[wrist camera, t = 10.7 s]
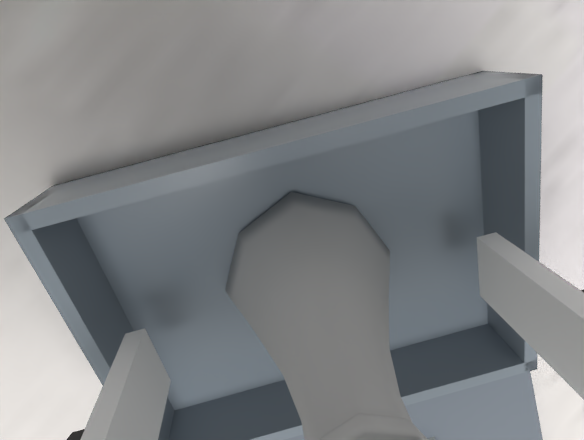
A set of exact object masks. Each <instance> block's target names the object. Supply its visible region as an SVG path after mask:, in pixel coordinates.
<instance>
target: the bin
mask: <svg viewBox="0 0 584 440" xmlns="http://www.w3.org/2000/svg"><path fill="white" fill-rule="evenodd" d="M541 120H542V74H525V73H507V72H489V71H481V72H478V73H474V74H470V75H466V76H463V77H459V78H455V79H451V80H448V81H444V82H440V83H436V84H433V85H429V86H425V87H421V88H418V89H414V90H410V91H406V92H403V93H399V94H395V95H392V96H388V97H384V98H380V99H377V100H373V101H369V102H365V103H362V104H358V105H354V106H350V107H347V108H343V109H339V110H335V111H332V112H328V113H324V114H320V115H317V116H313V117H309V118H306V119H302V120H298V121H294V122H291V123H287V124H283V125H279V126H276V127H272V128H268V129H264V130H261V131H257V132H253V133H249V134H246V135H242V136H238V137H234V138H231V139H227V140H223V141H220V142H216V143H212V144H208V145H205V146H201V147H197V148H193V149H190V150H186V151H182V152H178V153H175V154H171V155H167V156H163V157H160V158H156V159H152V160H148V161H145V162H141V163H137V164H134V165H130V166H126V167H122V168H119V169H115V170H111V171H107V172H104V173H100V174H96V175H92V176H89V177H85V178H81V179H77V180H74V181H70V182H66V183H62V184H59V185H55V186H52V187H50V188H49V189H47V190H46V191H44V192H43V193H41V194H40V195H39V196H37V197H36V198H34V199H33V200H31V201H30V202H28V203H27V204H25V205H24V206H22V207H21V208H19V209H18V210H16V211H15V212H13V213H12V214H10V215H9V216H7V217H6V218H5V221H6V223H7V224H8V226H9V228H10V230H11V231H12V233H13V235H14V236H15V238H16V240H17V241H18V243H19V245H20V246H21V248H22V250H23V252H24V253H25V255H26V257H27V258H28V260H29V262H30V263H31V265H32V267H33V268H34V270H35V272H36V273H37V275H38V277H39V279H40V280H41V282H42V284H43V285H44V287H45V289H46V290H47V292H48V294H49V295H50V297H51V299H52V301H53V302H54V304H55V306H56V307H57V309H58V311H59V312H60V314H61V316H62V317H63V319H64V321H65V322H66V324H67V326H68V328H69V329H70V331H71V333H72V334H73V336H74V338H75V339H76V341H77V343H78V344H79V346H80V348H81V349H82V351H83V353H84V355H85V356H86V358H87V360H88V361H89V363H90V365H91V366H92V368H93V370H94V371H95V373H96V375H97V377H98V378H99V380H100V382H101V383H102V385H104V383H105V380H106V378H107V376H108V373H109V371H110V368H111V366H112V364H113V361H114V359H115V357H116V354H117V352H118V350H119V347H120V345H121V343H122V340H123V338H124V335H125V334H126V333H130V332H133V331H137V330H140V329H144V328H145V330H146V332H147V334H148V336H149V338H150V340H151V342H152V344H153V346H154V348H155V350H156V352H157V354H158V356H159V358H160V360H161V362H162V364H163V366H164V368H165V370H166V372H167V374H168V376H169V378H170V380H171V383H170V387H169V392H168V396H167V401H166V405H165V410H164V414H163V419H162V424H161V428H160V433H159V437H158V440H285V439H289V438H292V437H296V436H299V435H303V434H304V433H303V428H302V422H301V419H300V417H299V414H298V412H297V409H296V406H295V404H294V401H293V399H292V396H291V394H290V391H289V389H288V386H287V384H286V381H285V378H284V376H283V374H282V373H281V371H280V370H279V368H278V367H277V365H276V363H275V362H274V360H273V359H272V357H271V356H270V354H269V353H268V351H267V350H266V348H265V347H264V345H263V343H262V342H261V340H260V339H259V337H258V336H257V334H256V333H255V331H254V330H253V328H252V327H251V326H250V324H249V323H248V322H247V320H246V319H245V317H244V316H243V315H242V313H241V312H240V311H239V309H238V308H237V307H236V305H235V304H234V303H233V301H232V300H231V298H230V297H229V295H228V294H227V292H226V291H225V289H226V284H227V280H228V276H229V272H230V267H231V263H232V259H233V255H234V251H235V246H236V242H237V238H238V234H239V233H240V232H241V231H242V230H243V229H245V228H246V227H247V226H249V225H250V224H251V223H252V222H254V221H255V220H256V219H257V218H259V217H260V216H261V215H263V214H264V213H265V212H266V211H268V210H269V209H270V208H271V207H273V206H274V205H275V204H276V203H278V202H279V201H280V200H282V199H283V198H284V197H285V196H287V195H288V194H289V193H290V192H294V193H298V194H303V195H307V196H312V197H316V198H321V199H326V200H330V201H335V202H339V203H344V204H348V205H353V206H355V207H356V208H357V209H358V210H359V212H360V213H361V214H362V216H363V217H364V218H365V219H366V221H367V222H368V223H369V225H370V226H371V227H372V228H373V230H374V231H375V232H376V234H377V235H378V236H379V237H380V239H381V240H382V241H383V243H384V244H385V245H386V246H387V248H388V249H389V250H390V274H389V346H390V353H391V358H392V362H393V366H394V370H395V375H396V379H397V383H398V388H399V392H400V396H401V399H402V401H403V403H404V405H405V406H407V405H410V404H414V403H417V402H421V401H425V400H428V399H432V398H435V397H439V396H442V395H446V394H450V393H453V392H457V391H460V390H464V389H467V388H471V387H475V386H478V385H482V384H485V383H489V382H492V381H496V380H500V379H503V378H507V377H510V376H514V375H517V374H521V373H525V372H528V371H532V370H535V369H537V352H536V351H535V350H534V349H533V348H532V347H531V346H530V345H529V344H528V343H527V342H526V341H525V340H524V339H523V338H522V337H521V336H520V335H519V334H518V333H517V332H516V331H515V330H514V329H513V328H512V327H511V326H510V325H509V324H508V323H507V322H506V321H505V320H504V319H503V318H502V317H501V316H500V315H499V314H498V313H497V312H496V311H495V310H494V309H493V308H492V307H491V306H490V305H489V304H488V303H487V302H486V301H485V300H484V299H483V298H482V297H481V296H480V289H479V271H478V252H477V237H480V236H484V235H487V234H491V233H495V232H496V233H498V234H499V235H501V236H502V237H504V238H505V239H506V240H508V241H509V242H511V243H512V244H514V245H515V246H517V247H518V248H520V249H521V250H522V251H524V252H525V253H527V254H528V255H530V256H531V257H533V258H534V259H536V260H537V261H538V262H539V230H540V175H541Z"/></svg>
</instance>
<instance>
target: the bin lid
mask: <svg viewBox="0 0 584 440" xmlns="http://www.w3.org/2000/svg"><path fill="white" fill-rule="evenodd" d="M405 408H406V410H407V412H408V414H409V416H410V419H411V421H412V423H413V424H414V425H415V427H416V428H417V429H418V430H419V431H420V432H421V433H422V434H423V435H424V436H425V437H426V438H427V439H428V440H543V439H542V434H541V428H540V423H539V417H538V412H537V406H536V401H535V395H534V390H533V385H532V379H531V374H530V371H528V372H525V373H521V374H517V375H514V376H510V377H507V378H503V379H500V380H496V381H492V382H489V383H485V384H482V385H478V386H475V387H471V388H467V389H464V390H460V391H457V392H453V393H450V394H446V395H442V396H439V397H435V398H432V399H428V400H425V401H421V402H417V403H414V404H410V405H407V406H405ZM285 440H305V439H304V434H303V435H299V436H296V437H292V438H289V439H285Z"/></svg>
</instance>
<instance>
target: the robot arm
mask: <svg viewBox="0 0 584 440" xmlns="http://www.w3.org/2000/svg"><path fill="white" fill-rule="evenodd" d="M477 252H478V271H479V289H480V296H481V297H482V298H483V299H484V300H485V301H486V302H487V303H488V304H489V305H490V306H491V307H492V308H493V309H494V310H495V311H496V312H497V313H498V314H499V315H500V316H501V317H502V318H503V319H504V320H505V321H506V322H507V323H508V324H509V325H510V326H511V327H512V328H513V329H514V330H515V331H516V332H517V333H518V334H519V335H520V336H521V337H522V338H523V339H524V340H525V341H526V342H527V343H528V344H529V345H530V346H531V347H532V348H533V349H534V350H535V351H536V352H537V353H538V354H539V355H540V356H541V357H542V358H543V359H544V360H545V361H546V362H547V363H548V364H549V365H550V366H551V367H552V368H553V369H554V370H555V371H556V372H557V373H558V374H559V375H560V376H561V377H562V378H563V379H564V380H565V381H566V382H567V383H568V384H569V385H570V386H571V387H572V388H573V389H574V390H575V391H576V392H577V393H578V394H579V395H580V396H581V397H582V398H583V399H584V290H579V289H578V288H576V287H575V286H573V285H572V284H570V283H569V282H568V281H566V280H565V279H563V278H562V277H560V276H559V275H557V274H556V273H554V272H553V271H552V270H550V269H549V268H547V267H546V266H544V265H543V264H541V263H540V262H538V261H537V260H536V259H534V258H533V257H531V256H530V255H528V254H527V253H525V252H524V251H522V250H521V249H520V248H518V247H517V246H515V245H514V244H512V243H511V242H509V241H508V240H506V239H505V238H504V237H502V236H501V235H499V234H498V233H496V232H495V233H491V234H487V235H484V236H480V237H477ZM170 383H171V380H170V378H169V376H168V374H167V372H166V370H165V368H164V366H163V364H162V362H161V360H160V358H159V356H158V354H157V352H156V350H155V348H154V346H153V344H152V342H151V340H150V338H149V336H148V334H147V332H146V330H145V328H144V329H140V330H137V331H133V332H130V333H126V334H125V335H124V338H123V340H122V343H121V345H120V347H119V350H118V352H117V354H116V357H115V359H114V361H113V364H112V366H111V368H110V371H109V373H108V376H107V378H106V380H105V383H104V385H103V387H102V390H101V392H100V394H99V397H98V399H97V402H96V404H95V406H94V409H93V411H92V413H91V416H90V418H89V420H88V423H87V425H86V428H85V429H83V430H80V431H76V432H73V433H71V435H70V436H69V437H68V438H67V440H158V437H159V433H160V428H161V424H162V419H163V414H164V410H165V405H166V401H167V396H168V392H169V387H170Z"/></svg>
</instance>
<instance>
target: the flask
mask: <svg viewBox="0 0 584 440" xmlns="http://www.w3.org/2000/svg"><path fill="white" fill-rule="evenodd" d="M389 274H390V250H389V249H388V248H387V246H386V245H385V244H384V243H383V241H382V240H381V239H380V237H379V236H378V235H377V234H376V232H375V231H374V230H373V228H372V227H371V226H370V225H369V223H368V222H367V221H366V219H365V218H364V217H363V216H362V214H361V213H360V212H359V210H358V209H357V208H356V207H355V206H353V205H348V204H344V203H339V202H335V201H330V200H326V199H321V198H316V197H312V196H307V195H303V194H298V193H294V192H290V193H289V194H288V195H287V196H285V197H284V198H283V199H282V200H280V201H279V202H278V203H276V204H275V205H274V206H273V207H271V208H270V209H269V210H268V211H266V212H265V213H264V214H263V215H261V216H260V217H259V218H257V219H256V220H255V221H254V222H252V223H251V224H250V225H249V226H247V227H246V228H245V229H243V230H242V231H241V232H240V233H239V234H238V238H237V242H236V246H235V251H234V255H233V259H232V263H231V267H230V272H229V276H228V280H227V284H226V289H225V291H226V292H227V294H228V295H229V297H230V298H231V300H232V301H233V303H234V304H235V305H236V307H237V308H238V309H239V311H240V312H241V313H242V315H243V316H244V317H245V319H246V320H247V322H248V323H249V324H250V326H251V327H252V328H253V330H254V331H255V333H256V334H257V336H258V337H259V339H260V340H261V342H262V343H263V345H264V347H265V348H266V350H267V351H268V353H269V354H270V356H271V357H272V359H273V360H274V362H275V363H276V365H277V367H278V368H279V370H280V371H281V373H282V374H283V376H284V378H285V381H286V384H287V386H288V389H289V391H290V394H291V396H292V399H293V401H294V404H295V406H296V409H297V412H298V414H299V417H300V419H301V422H302V428H303V433H304V439H305V440H428V439H427V438H426V437H425V436H424V435H423V434H422V433H421V432H420V431H419V430H418V429H417V428H416V427H415V425H414V424H413V423H412V421H411V419H410V416H409V414H408V412H407V410H406V408H405V405H404V403H403V401H402V399H401V396H400V392H399V388H398V383H397V379H396V375H395V370H394V366H393V362H392V358H391V353H390V346H389Z"/></svg>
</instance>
